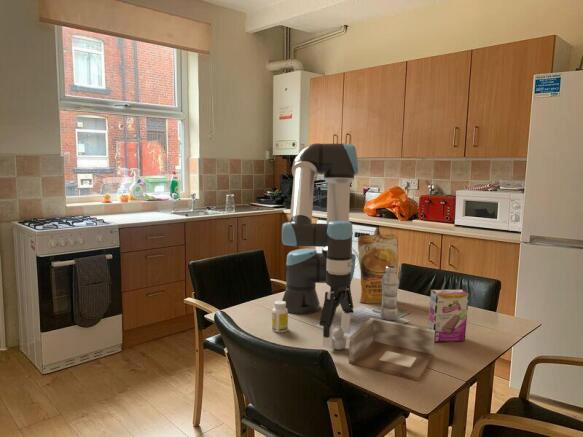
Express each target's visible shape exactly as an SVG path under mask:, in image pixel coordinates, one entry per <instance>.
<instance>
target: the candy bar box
mask: <svg viewBox="0 0 583 437" xmlns="http://www.w3.org/2000/svg"><path fill="white" fill-rule="evenodd" d="M429 297H430V298H429V309H428V310H429V311H428V312H429V313H428V323H427V324H428V326H427V329H431V330H435V338H434V343H449V342H450V343H451V342H452V343H453V342H465V341H466V333H467V332H466V331H467V317H468V307H469V297H470V294H469V293H468V292H466V291H465V290H464V289H431V290H430V296H429Z"/></svg>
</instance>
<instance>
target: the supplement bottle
mask: <svg viewBox="0 0 583 437" xmlns="http://www.w3.org/2000/svg"><path fill="white" fill-rule="evenodd" d="M273 304H274V305H273V308H272V310H271V321H272V322H271V330H272V331H273V332H275V333H285V332H287V331H288V328H289V327H288V325H289V324H288V323H289V312H288V309H287V308H285V307H286V302H285V301H282V300H275V301H274V303H273Z"/></svg>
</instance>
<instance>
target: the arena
mask: <svg viewBox="0 0 583 437" xmlns="http://www.w3.org/2000/svg"><path fill="white" fill-rule="evenodd" d="M434 338H435V330H431V329H428V328H424V327H420V326H415V325H409V324H404V323H400V322H395V321H389V320H384V319H379V318H374V317H370V318H369V319H368V320H367V321H365V323H363V324H362V325H361V326H360V327H358V329H356V330H355V331H354V332H353V333H351V335H350V336H349V342H348V345H349V347H348V364H351V365H355V366H359V367H362V368H367V369H370V370H375V371H378V372H382V373H387V374H390V375H394V376H398V377H402V378H405V379H410V380H413V381H417V382H419V381H420V380H421V378H422V376H423V375H424V373H425V371H426V370H427V369H428V366H429V364H430V363H431V360H432V359H433V358H434V355H435V354H434V351H435V342H434Z"/></svg>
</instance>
